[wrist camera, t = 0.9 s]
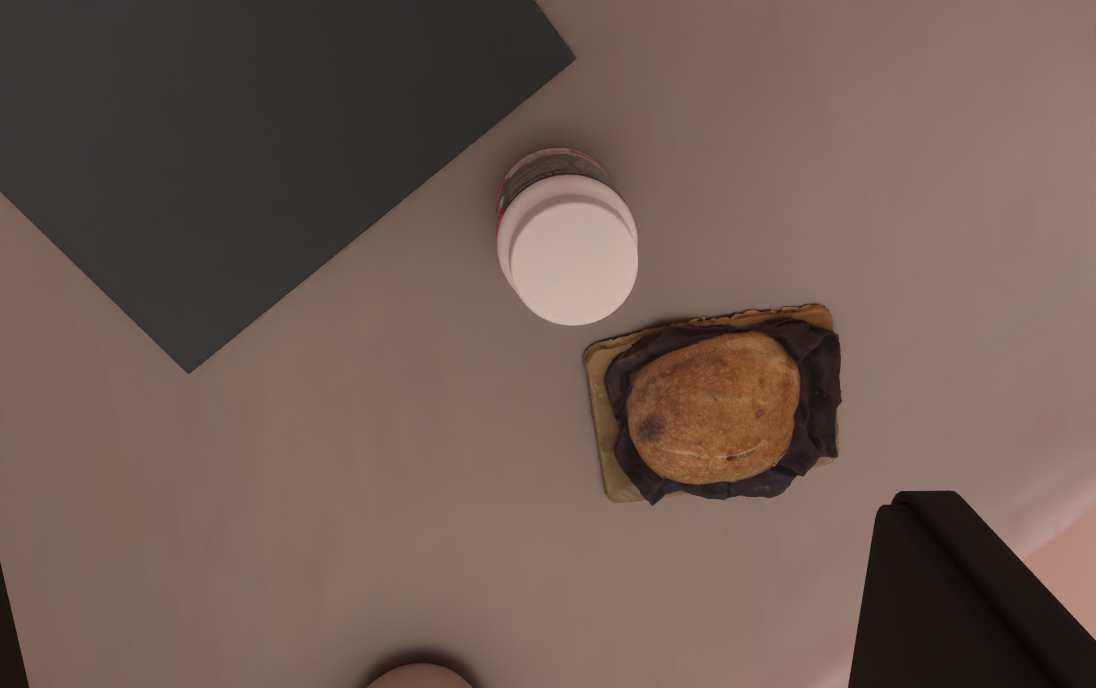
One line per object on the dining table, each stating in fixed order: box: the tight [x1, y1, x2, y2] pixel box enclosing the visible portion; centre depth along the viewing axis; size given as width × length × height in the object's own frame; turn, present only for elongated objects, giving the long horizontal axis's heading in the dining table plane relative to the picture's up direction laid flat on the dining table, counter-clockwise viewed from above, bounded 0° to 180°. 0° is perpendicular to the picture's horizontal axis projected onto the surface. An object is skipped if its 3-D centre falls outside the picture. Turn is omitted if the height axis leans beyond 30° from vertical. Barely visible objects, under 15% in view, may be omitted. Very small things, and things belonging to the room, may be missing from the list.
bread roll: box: [583, 304, 842, 506], centre depth 38 cm, size 11×8×4 cm
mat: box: [0, 0, 576, 374], centre depth 33 cm, size 20×16×1 cm
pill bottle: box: [496, 148, 638, 326], centre depth 32 cm, size 5×5×8 cm
